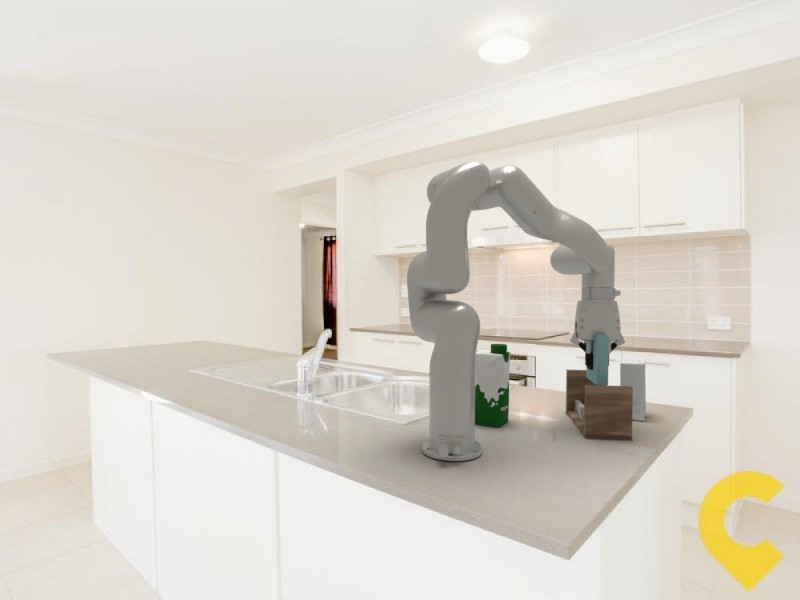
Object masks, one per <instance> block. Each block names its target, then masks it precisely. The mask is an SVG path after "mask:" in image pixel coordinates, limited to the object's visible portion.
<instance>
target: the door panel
mask: <svg viewBox="0 0 800 600" xmlns="http://www.w3.org/2000/svg"><path fill="white" fill-rule="evenodd" d="M591 351H592V354H593V369H592V370H590V369H588V368H587V366H586V365H585V366H586V369H585V370H586V377H587V378H588V379H589V380H591V381H592V382H593V383H595V384H596V385H606V386H609V366H608V352H609V335H606V334H594V341H592V347H591Z"/></svg>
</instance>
